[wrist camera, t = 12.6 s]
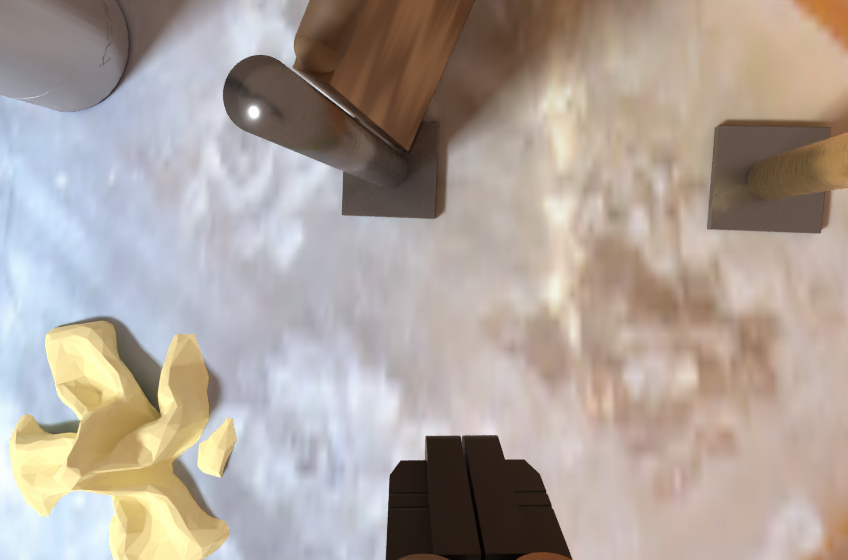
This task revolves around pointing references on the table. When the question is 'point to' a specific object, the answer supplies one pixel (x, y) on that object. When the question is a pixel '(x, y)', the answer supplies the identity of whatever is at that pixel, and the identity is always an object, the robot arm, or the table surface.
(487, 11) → the table surface
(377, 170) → the gate frame
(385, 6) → the gate panel
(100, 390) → the cloth
